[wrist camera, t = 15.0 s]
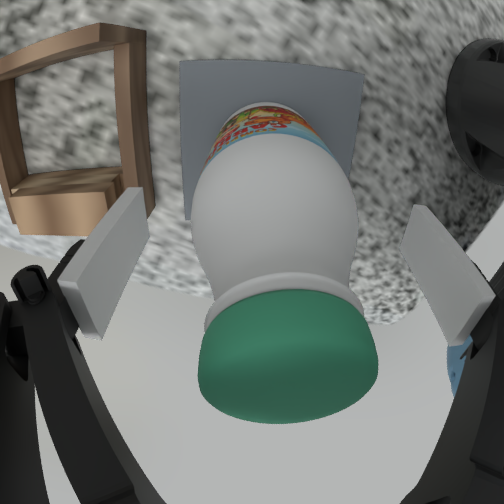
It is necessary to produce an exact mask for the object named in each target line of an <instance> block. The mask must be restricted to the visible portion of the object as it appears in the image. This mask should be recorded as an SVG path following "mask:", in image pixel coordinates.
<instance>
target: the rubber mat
mask: <svg viewBox="0 0 504 504" xmlns="http://www.w3.org/2000/svg"><path fill="white" fill-rule="evenodd" d="M363 83H364V74H361V73H356V72H351V71H345V70H339V69H333V68H327V67H320V66H313V65H305V64H296V63H286V62H273V61H256V60H192V61H180V132H181V157H182V177H183V193H184V207H185V220H191V211H192V202H193V197H194V192H195V189H196V186H197V183H198V180H199V177H200V174H201V171H202V169H203V167H204V164H205V162H206V159H207V157H208V155H209V153H210V150H211V148H212V146H213V144H214V142H215V140H216V138H217V136H218V134H219V132H220V130H221V128H222V126H223V125H224V123H225V122H226V121H227V120H228V118H229V117H230V116H231V115H232V114H234V113H235V112H236V111H238V110H239V109H241V108H243V107H245V106H247V105H250V104H254V103H259V102H273V103H279V104H282V105H285V106H287V107H289V108H291V109H293V110H295V111H296V112H297V113H299V114H300V115H301V116H302V117H303V118H304V119H305V120H306V121H307V122H308V123H309V124H310V126H311V127H312V128H313V129H314V131H315V132H316V133H317V134H318V136H319V137H320V138H321V139H322V141H323V142H324V143H325V145H326V146H327V147H328V149H329V150H330V151H331V153H332V154H333V156H334V157H335V159H336V160H337V161H338V163H339V165H340V167H341V168H342V170H343V172H344V173H345V175H346V177H347V179H349V174H350V168H351V163H352V157H353V151H354V145H355V139H356V133H357V127H358V120H359V113H360V106H361V99H362V91H363Z"/></svg>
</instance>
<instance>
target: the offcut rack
mask: <svg viewBox="0 0 504 504" xmlns="http://www.w3.org/2000/svg"><path fill="white" fill-rule="evenodd" d="M112 49H114V80H115V100H116V114H117V126H118V137H119V147H120V155H121V163H122V167H104V168H89V169H77V170H66V171H55V172H46V173H37V174H30V175H28V171H27V167H26V162H25V157H24V152H23V147H22V141H21V135H20V129H19V122H18V115H17V106H16V96H15V84H14V78H16V77H18V76H21V75H23V74H26V73H29V72H32V71H34V70H37V69H40V68H43V67H46V66H49V65H53V64H56V63H59V62H63V61H66V60H70V59H73V58H77V57H81V56H85V55H89V54H93V53H98V52H103V51H107V50H112ZM0 184H1V188H2V191H3V195H4V198H5V201H6V205H7V208H8V211H9V214H10V217H11V220H12V223H13V224H17V226H18V229H19V232H20V234H21V235H61V236H89V235H90V233H91V232H92V231H93V229H94V228H95V227H96V226H97V224H98V223H99V222H100V220H101V219H102V218H103V217H104V215H105V214H106V213H107V212H108V211H109V209H110V208H111V207H112V206H113V204H114V203H115V202H116V201H117V200H118V198H119V197H120V196H121V195H122V194H123V193H124V191H125V190H126V189H127V188H128V187H143V194H144V202H145V209H146V216H147V219H148V217H149V216H150V214H151V212H152V211H153V209H154V207H155V198H154V189H153V180H152V170H151V159H150V147H149V133H148V116H147V93H146V31H145V30H140V29H136V28H130V27H125V26H119V25H113V24H106V23H96V24H92V25H88V26H85V27H81V28H78V29H75V30H71V31H68V32H65V33H62V34H59V35H56V36H53V37H50V38H48V39H45V40H42V41H40V42H37V43H35V44H32V45H30V46H27V47H25V48H23V49H20V50H18V51H16V52H14V53H11V54H9V55H7V56H5V57H3V58H1V59H0Z"/></svg>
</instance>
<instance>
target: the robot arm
mask: <svg viewBox="0 0 504 504" xmlns="http://www.w3.org/2000/svg"><path fill="white" fill-rule="evenodd" d="M446 106H447V119H448V125H449V130H450V134H451V137H452V140H453V143H454V145H455V147H456V149H457V151H458V153H459V155H460V156H461V158H462V159H463V161H464V162H465V163H466V164H467V165H468V166H469V167H470V168H471V169H472V170H474V171H475V172H476V173H478V174H479V175H480V176H482V177H483V178H485V179H486V180H488V181H490V182H492V183H495V184H498V185H502V186H504V40H497V39H480V40H477V41H475V42H473V43H471V44H469V45H468V46H467V47H466V48H465V49H464V50H463V51H462V52H461V53H460V55H459V56H458V58H457V60H456V61H455V63H454V66H453V68H452V71H451V74H450V78H449V82H448V88H447V101H446ZM149 237H150V235H149V229H148V223H147V216H146V209H145V202H144V194H143V187H128V188H127V189H126V190H125V191H124V193H123V194H122V195H121V196H120V197H119V198H118V200H117V201H116V202H115V203H114V204H113V206H112V207H111V208H110V209H109V211H108V212H107V213H106V214H105V215H104V217H103V218H102V219H101V220H100V222H99V223H98V224H97V226H96V227H95V228H94V229H93V231H92V232H91V233H90V235H89V236H88V237H87V239H86V240H82V239H81V240H79V241H78V242H77V243H75V244H74V245H73V246H71V248H70V249H69V250H68V251H67V253H66V254H65V256H64V257H63V258H62V260H61V261H60V263H59V264H58V265H57V267H56V268H55V269H54V271H53V272H52V274H51V275H50V277H49V278H48V279H47V277H46V275H45V273H44V270H43V268H42V267H41V266H38V265H30V266H28V267H25V268H23V269H21V270H20V271H19V272H17V273H16V274H15V276H14V277H13V279H12V280H11V287H12V289H13V291H14V293H15V295H16V297H17V298H18V301H11V302H8V301H7V299H6V297H5V295H4V294H3V293H2V292H0V504H50V503H49V499H48V495H47V491H46V486H45V481H44V476H43V470H42V465H41V458H40V451H39V444H38V434H37V424H36V410H35V387H36V390H37V394H38V398H39V402H40V405H41V408H42V411H43V415H44V417H45V421H46V424H47V427H48V430H49V433H50V435H51V438H52V441H53V443H54V446H55V449H56V451H57V454H58V456H59V459H60V461H61V463H62V466H63V468H64V470H65V472H66V475H67V477H68V479H69V481H70V483H71V485H72V487H73V489H74V491H75V493H76V495H77V497H78V499H79V501H80V503H81V504H166V503H165V502H164V500H163V499H162V498H161V497H160V495H159V494H158V493H157V491H156V490H155V488H154V487H153V485H152V484H151V482H150V481H149V480H148V478H147V477H146V475H145V474H144V472H143V470H142V469H141V467H140V466H139V464H138V463H137V461H136V459H135V458H134V456H133V455H132V453H131V451H130V449H129V448H128V446H127V444H126V443H125V441H124V439H123V437H122V436H121V434H120V432H119V430H118V428H117V426H116V424H115V423H114V421H113V419H112V417H111V415H110V413H109V411H108V409H107V407H106V405H105V403H104V401H103V399H102V397H101V394H100V392H99V390H98V388H97V386H96V384H95V381H94V379H93V377H92V374H91V372H90V370H89V367H88V365H87V363H86V360H85V358H84V355H83V352H82V350H81V347H80V344H79V342H78V339H77V338H76V336H75V334H76V332H77V330H78V328H80V330H81V331H82V333H83V335H84V337H86V338H92V339H97V340H102V339H103V336H104V334H105V332H106V329H107V327H108V324H109V322H110V320H111V317H112V315H113V313H114V310H115V308H116V306H117V304H118V301H119V299H120V297H121V295H122V292H123V290H124V288H125V286H126V284H127V282H128V280H129V278H130V276H131V273H132V271H133V269H134V267H135V265H136V263H137V261H138V259H139V257H140V255H141V253H142V251H143V249H144V247H145V245H146V243H147V241H148V239H149ZM399 250H400V252H401V254H402V255H403V257H404V259H405V261H406V262H407V264H408V266H409V268H410V269H411V271H412V273H413V275H414V276H415V278H416V280H417V282H418V284H419V286H420V288H421V289H422V291H423V293H424V295H425V297H426V299H427V301H428V303H429V304H430V307H431V309H432V311H433V313H434V315H435V317H436V319H437V321H438V323H439V325H440V327H441V329H442V332H443V334H444V336H445V338H446V340H447V342H448V347H447V369H448V375H449V378H450V382H451V389H452V393H453V396H454V400H453V403H452V406H451V409H450V412H449V415H448V417H447V420H446V423H445V425H444V428H443V430H442V433H441V435H440V438H439V440H438V442H437V445H436V447H435V449H434V451H433V454H432V456H431V458H430V460H429V462H428V464H427V467H426V468H425V471H424V473H423V475H422V476H421V479H420V480H419V482H418V484H417V485H416V486H415V488H414V489H413V490H412V491H411V492H410V493H408V494H407V495H406V496H405V498H404V499H403V500H402V501H401V503H400V504H504V262H503V263H502V265H501V266H500V268H499V269H498V271H497V272H496V274H495V275H494V276H493V278H492V279H491V280H490V282H488V280H486V277H485V276H484V275H483V274H482V272H481V270H480V269H479V268H478V266H477V265H476V264H475V263H474V262H473V261H472V260H470V258H469V257H468V256H467V254H466V253H465V252H464V251H463V249H462V248H461V247H460V245H459V244H458V243H457V242H456V240H455V239H454V238H453V237H452V236H451V234H450V233H449V232H448V231H447V229H446V228H445V227H444V226H443V225H442V224H441V222H440V221H439V220H438V219H437V218H436V217H435V216H434V214H433V213H432V212H431V211H430V210H429V209H428V208H427V207H426V206H424V205H417V204H414V205H413V209H412V212H411V215H410V218H409V221H408V224H407V227H406V230H405V233H404V236H403V239H402V242H401V245H400V247H399Z"/></svg>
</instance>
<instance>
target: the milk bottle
mask: <svg viewBox="0 0 504 504" xmlns="http://www.w3.org/2000/svg"><path fill="white" fill-rule="evenodd" d="M191 232H192V239H193V243H194V247H195V251H196V254H197V257H198V260H199V262H200V264H201V266H202V268H203V270H204V272H205V274H206V276H207V278H208V280H209V282H210V285H211V288H212V291H213V295H214V300H215V302H214V303H213V304H212V306H211V308H210V309H209V311H208V313H207V315H206V319H205V325H204V331H205V334H204V337H203V340H202V345H201V350H200V355H199V366H198V382H199V387H200V391H201V393H202V395H203V397H204V398H205V399H206V400H207V401H208V402H209V403H210V404H211V405H212V406H214V407H215V408H216V409H218V410H219V411H221V412H223V413H225V414H227V415H230V416H232V417H235V418H239V419H242V420H246V421H251V422H258V423H267V424H288V423H298V422H305V421H310V420H315V419H319V418H322V417H326V416H328V415H332V414H334V413H337V412H339V411H341V410H343V409H345V408H347V407H349V406H351V405H352V404H354V403H356V402H357V401H358V400H359V399H361V398H362V397H363V396H364V395H365V394H366V393H367V392H368V391H369V390H370V389H371V387H372V386H373V384H374V383H375V381H376V379H377V375H378V356H377V352H376V348H375V343H374V340H373V337H372V334H371V332H370V329H369V327H368V324H367V322H366V320H365V318H364V310H363V307H362V304H361V302H360V300H359V299H358V297H357V296H356V295H355V293H354V292H353V291H352V290H351V289H349V276H350V269H351V265H352V261H353V257H354V254H355V249H356V245H357V239H358V213H357V206H356V201H355V197H354V194H353V191H352V189H351V186H350V183H349V181H348V179H347V177H346V175H345V173H344V172H343V170H342V168H341V167H340V165H339V163H338V161H337V160H336V159H335V157H334V156H333V154H332V153H331V151H330V150H329V149H328V147H327V146H326V145H325V143H324V142H323V141H322V139H321V138H320V137H319V136H318V134H317V133H316V132H315V131H314V129H313V128H312V127H311V126H310V124H309V123H308V122H307V121H306V120H305V119H304V118H303V117H302V116H301V115H300V114H299V113H297V112H296V111H295V110H293V109H291V108H289V107H287V106H285V105H282V104H279V103H273V102H259V103H254V104H250V105H247V106H245V107H243V108H241V109H239V110H238V111H236V112H235V113H234V114H232V115H231V116H230V117H229V118H228V120H227V121H226V122H225V123H224V125H223V126H222V128H221V130H220V132H219V134H218V136H217V138H216V140H215V142H214V144H213V146H212V148H211V150H210V153H209V155H208V157H207V159H206V162H205V164H204V167H203V169H202V171H201V174H200V177H199V180H198V183H197V186H196V189H195V192H194V197H193V202H192V211H191Z"/></svg>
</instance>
